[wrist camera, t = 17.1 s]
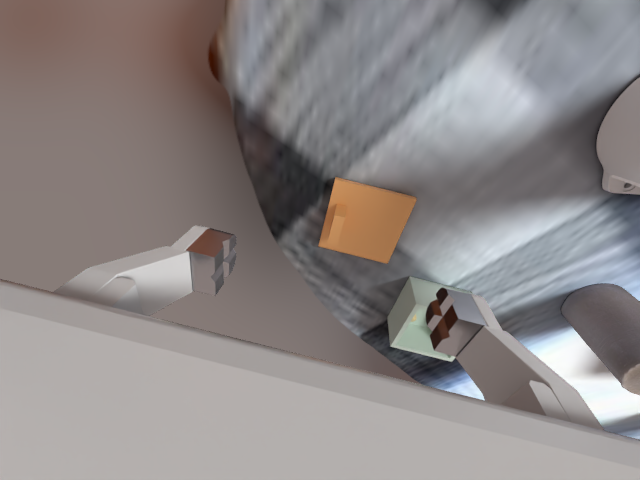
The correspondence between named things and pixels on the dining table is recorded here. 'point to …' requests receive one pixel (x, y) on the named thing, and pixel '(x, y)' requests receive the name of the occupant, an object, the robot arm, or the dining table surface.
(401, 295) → the tub
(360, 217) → the lid
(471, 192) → the dining table surface
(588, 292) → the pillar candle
